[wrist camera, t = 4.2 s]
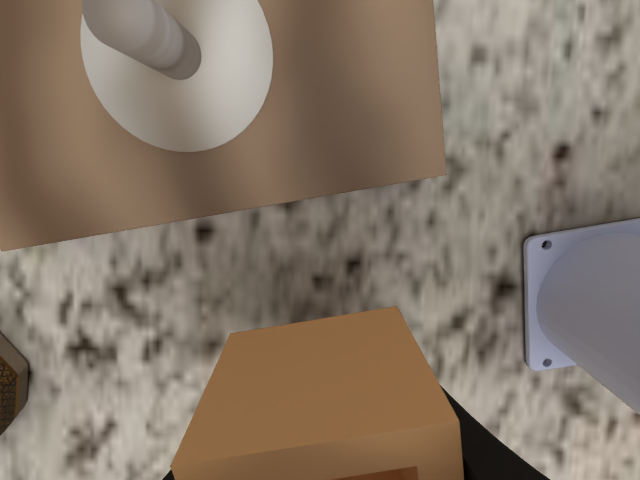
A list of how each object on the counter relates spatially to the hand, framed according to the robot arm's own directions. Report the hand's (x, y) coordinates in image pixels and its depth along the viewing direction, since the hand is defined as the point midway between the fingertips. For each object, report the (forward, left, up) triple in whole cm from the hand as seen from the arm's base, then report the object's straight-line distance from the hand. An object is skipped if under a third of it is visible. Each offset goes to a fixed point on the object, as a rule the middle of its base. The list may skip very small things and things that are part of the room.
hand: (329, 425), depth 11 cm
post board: (+4, -13, -9) cm, 16 cm away
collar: (0, 0, -2) cm, 2 cm away
